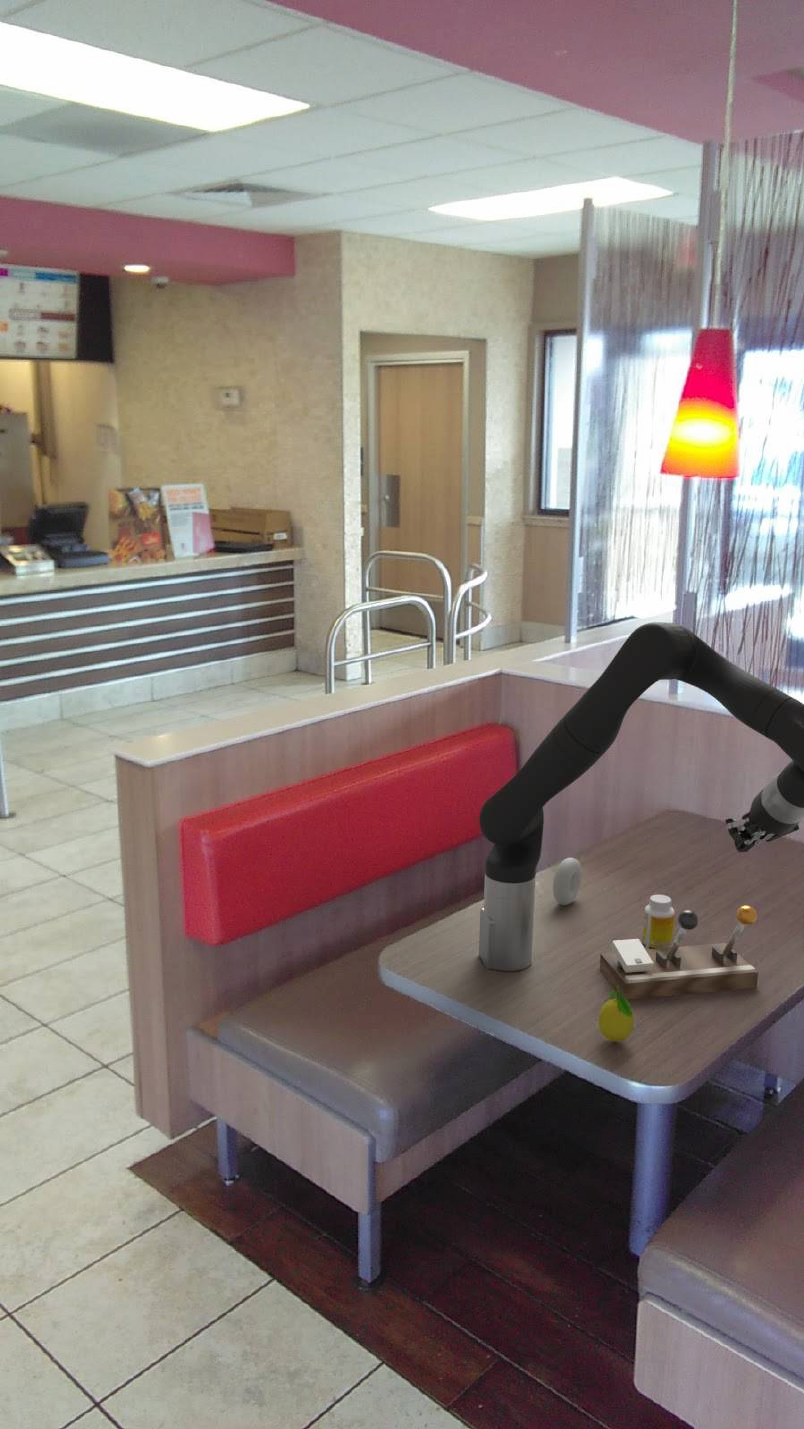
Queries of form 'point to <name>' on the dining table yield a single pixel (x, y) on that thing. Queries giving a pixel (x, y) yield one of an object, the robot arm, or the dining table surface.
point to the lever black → (682, 930)
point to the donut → (567, 881)
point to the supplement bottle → (658, 923)
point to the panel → (682, 972)
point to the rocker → (632, 955)
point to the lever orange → (740, 926)
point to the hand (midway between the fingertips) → (740, 847)
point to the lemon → (616, 1017)
